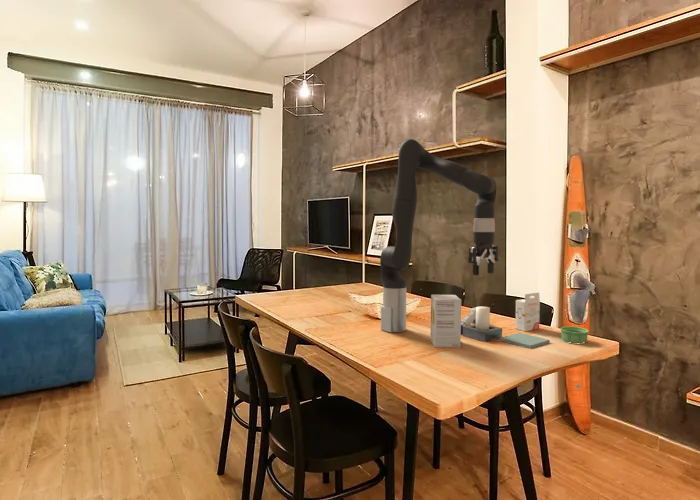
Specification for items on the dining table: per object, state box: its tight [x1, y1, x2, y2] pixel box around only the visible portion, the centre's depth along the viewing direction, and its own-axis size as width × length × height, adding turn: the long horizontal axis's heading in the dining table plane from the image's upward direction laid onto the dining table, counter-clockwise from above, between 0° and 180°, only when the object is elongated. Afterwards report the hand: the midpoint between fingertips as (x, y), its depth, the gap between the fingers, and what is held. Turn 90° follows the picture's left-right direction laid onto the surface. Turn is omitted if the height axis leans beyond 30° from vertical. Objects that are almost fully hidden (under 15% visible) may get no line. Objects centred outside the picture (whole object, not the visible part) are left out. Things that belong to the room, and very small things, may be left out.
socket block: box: [462, 323, 503, 343], centre depth 163 cm, size 10×10×4 cm
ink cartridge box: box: [515, 292, 541, 332], centre depth 174 cm, size 9×5×15 cm, turn 117°
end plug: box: [475, 306, 491, 331], centre depth 163 cm, size 5×5×11 cm
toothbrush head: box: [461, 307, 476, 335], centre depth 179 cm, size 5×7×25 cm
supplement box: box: [430, 294, 462, 348], centre depth 154 cm, size 10×9×17 cm
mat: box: [499, 332, 551, 349], centre depth 157 cm, size 12×12×1 cm
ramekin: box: [560, 325, 589, 344], centre depth 157 cm, size 9×9×4 cm
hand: (483, 274), depth 162 cm, fingers open, 8 cm apart
